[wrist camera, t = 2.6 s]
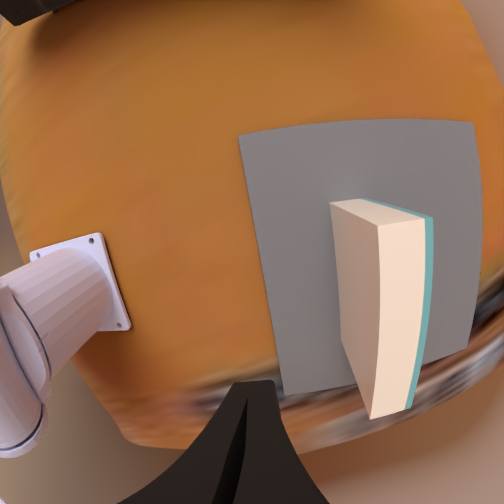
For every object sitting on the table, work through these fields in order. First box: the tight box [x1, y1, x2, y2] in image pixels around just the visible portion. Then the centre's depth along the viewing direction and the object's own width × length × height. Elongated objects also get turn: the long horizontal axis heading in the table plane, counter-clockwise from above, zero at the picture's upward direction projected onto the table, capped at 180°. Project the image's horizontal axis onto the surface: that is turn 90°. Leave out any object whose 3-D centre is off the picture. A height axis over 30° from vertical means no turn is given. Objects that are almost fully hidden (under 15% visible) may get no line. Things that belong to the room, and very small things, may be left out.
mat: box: [238, 119, 483, 396], centre depth 17 cm, size 18×20×1 cm
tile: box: [329, 198, 433, 420], centre depth 14 cm, size 2×10×8 cm, turn 10°
